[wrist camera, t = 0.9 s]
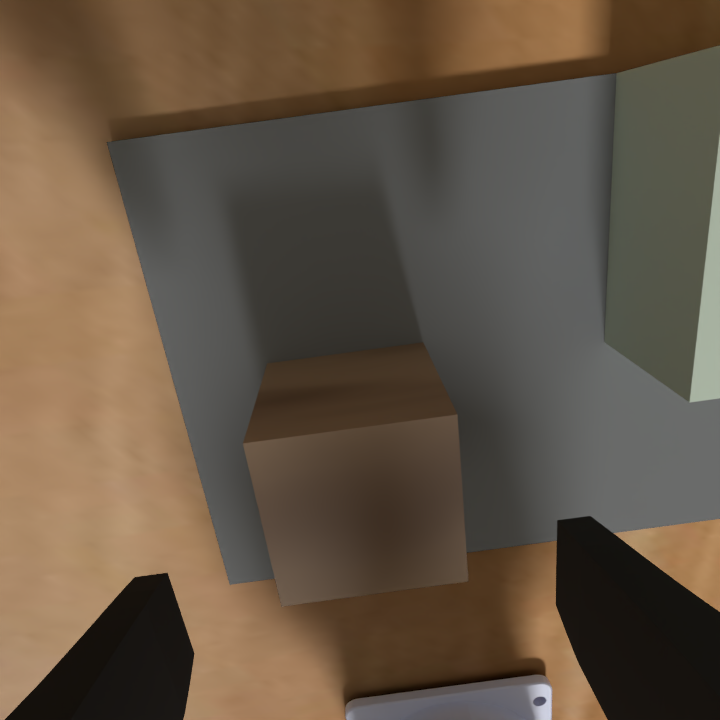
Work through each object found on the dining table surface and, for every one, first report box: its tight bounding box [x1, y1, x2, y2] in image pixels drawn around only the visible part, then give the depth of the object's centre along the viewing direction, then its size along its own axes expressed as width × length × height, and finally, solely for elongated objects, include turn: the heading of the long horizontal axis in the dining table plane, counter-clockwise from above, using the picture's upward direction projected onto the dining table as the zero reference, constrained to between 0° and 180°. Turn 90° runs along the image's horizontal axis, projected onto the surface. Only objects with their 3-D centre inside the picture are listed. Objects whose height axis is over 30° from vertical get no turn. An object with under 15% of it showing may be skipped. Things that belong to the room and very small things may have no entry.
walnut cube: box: [243, 342, 468, 607], centre depth 14 cm, size 4×4×4 cm
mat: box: [107, 73, 720, 585], centre depth 16 cm, size 14×22×1 cm, turn 97°
